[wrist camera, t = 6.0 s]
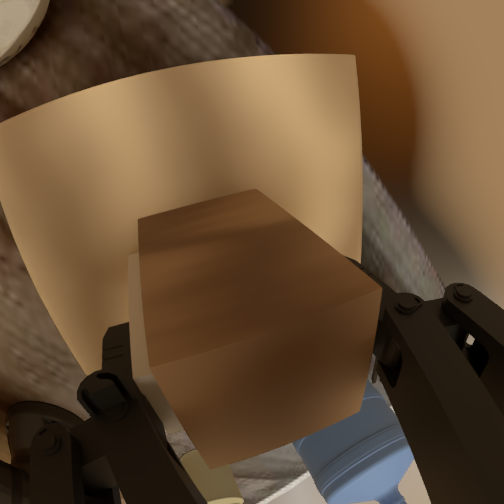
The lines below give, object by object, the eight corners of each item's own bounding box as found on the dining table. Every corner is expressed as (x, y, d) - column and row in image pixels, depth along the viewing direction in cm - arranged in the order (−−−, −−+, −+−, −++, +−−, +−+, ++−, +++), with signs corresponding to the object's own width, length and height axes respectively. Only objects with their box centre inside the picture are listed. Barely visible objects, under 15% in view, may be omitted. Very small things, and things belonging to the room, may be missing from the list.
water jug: (255, 388, 47) (337, 545, 23) (341, 333, 47) (454, 469, 24) (289, 421, 55) (357, 540, 31) (358, 377, 56) (443, 485, 32)
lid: (110, 394, 17) (126, 532, 9) (-7, 129, 9) (-159, 188, 1) (345, 318, 21) (432, 415, 13) (340, 56, 13) (513, 55, 5)
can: (219, 465, 56) (237, 512, 46) (176, 468, 52) (190, 518, 42) (230, 444, 53) (251, 496, 43) (183, 447, 49) (199, 503, 39)
